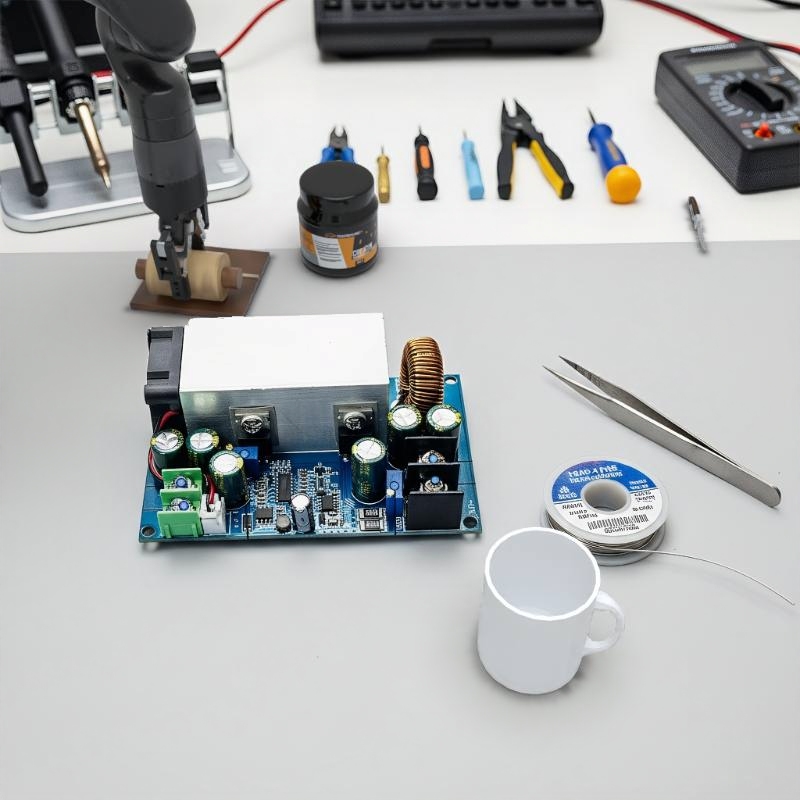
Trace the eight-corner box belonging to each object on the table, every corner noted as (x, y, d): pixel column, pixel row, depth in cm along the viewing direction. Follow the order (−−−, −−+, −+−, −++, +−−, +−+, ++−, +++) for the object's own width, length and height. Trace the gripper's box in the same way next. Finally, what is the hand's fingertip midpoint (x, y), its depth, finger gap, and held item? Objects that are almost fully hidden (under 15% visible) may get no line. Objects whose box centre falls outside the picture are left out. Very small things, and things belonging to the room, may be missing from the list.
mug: (472, 607, 93) (480, 527, 85) (600, 606, 93) (620, 526, 85) (480, 698, 86) (489, 621, 78) (618, 697, 86) (641, 619, 78)
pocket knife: (685, 202, 144) (688, 190, 143) (691, 202, 144) (694, 190, 143) (700, 256, 134) (703, 244, 133) (706, 256, 134) (710, 244, 133)
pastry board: (131, 309, 125) (129, 301, 124) (165, 248, 135) (164, 240, 134) (243, 320, 123) (242, 313, 123) (270, 258, 133) (269, 250, 132)
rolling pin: (134, 302, 124) (126, 262, 120) (150, 274, 128) (142, 235, 124) (235, 312, 123) (230, 273, 118) (248, 284, 127) (243, 244, 123)
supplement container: (325, 289, 128) (320, 210, 120) (286, 250, 135) (280, 171, 126) (393, 264, 132) (394, 185, 124) (353, 227, 139) (351, 150, 131)
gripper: (159, 130, 118) (179, 247, 130) (115, 193, 108) (142, 314, 119) (219, 135, 118) (235, 252, 129) (182, 199, 107) (202, 321, 119)
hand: (190, 282), depth 124 cm, fingers closed on rolling pin, 6 cm apart
